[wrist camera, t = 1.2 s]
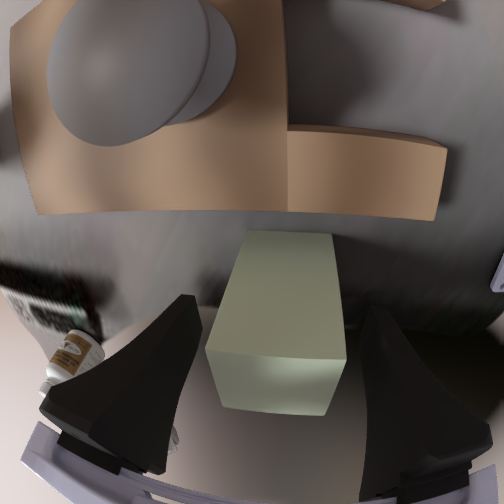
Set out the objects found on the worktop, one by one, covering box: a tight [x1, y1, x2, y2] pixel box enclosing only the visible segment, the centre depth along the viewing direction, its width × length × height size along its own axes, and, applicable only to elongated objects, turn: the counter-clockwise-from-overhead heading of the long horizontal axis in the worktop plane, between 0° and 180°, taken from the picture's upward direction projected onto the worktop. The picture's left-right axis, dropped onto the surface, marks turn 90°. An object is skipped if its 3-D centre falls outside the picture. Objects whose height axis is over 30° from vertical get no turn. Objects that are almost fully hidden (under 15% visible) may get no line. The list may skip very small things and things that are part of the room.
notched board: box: [10, 0, 447, 221], centre depth 8 cm, size 20×12×2 cm, turn 93°
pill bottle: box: [38, 329, 105, 398], centre depth 20 cm, size 4×4×8 cm
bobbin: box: [47, 0, 238, 147], centre depth 6 cm, size 5×5×4 cm
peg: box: [205, 230, 346, 415], centre depth 11 cm, size 4×4×7 cm
